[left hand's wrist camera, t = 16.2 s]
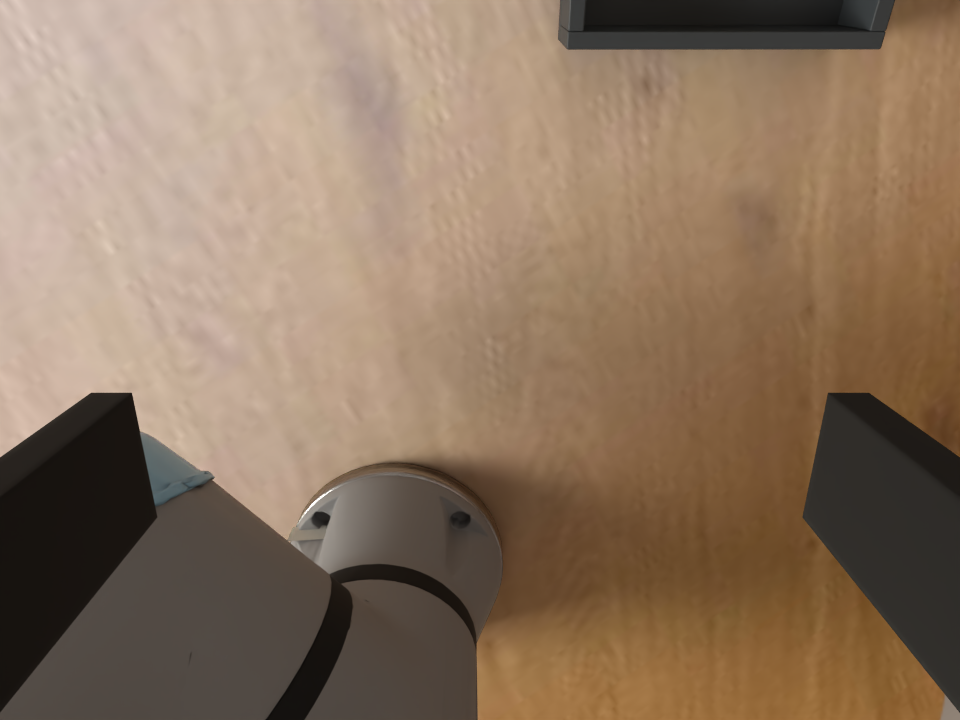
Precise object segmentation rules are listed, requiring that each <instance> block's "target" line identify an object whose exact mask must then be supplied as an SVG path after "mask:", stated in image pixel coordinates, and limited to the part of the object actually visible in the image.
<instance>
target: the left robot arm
mask: <svg viewBox="0 0 960 720" xmlns="http://www.w3.org/2000/svg"><path fill="white" fill-rule="evenodd" d="M214 478H215V477H214V476H213V475H212V474H211V473H210V472H209V471H200V470H199V469H197V468H196V467H194V466H193V465H192V464H190V463H189V462H187V461H186V460H184V459H183V458H182V457H180V456H179V455H177V454H176V453H175V452H173V451H172V450H170V449H169V448H168V447H166V446H165V445H163V444H162V443H161V442H159V441H158V440H157V439H155V438H154V437H152V436H150V435H148V434H146V433H143V432H140V430H139V425H138V420H137V416H136V411H135V406H134V401H133V396H132V393H90V394H89V395H88V396H86V397H85V398H83V399H82V400H80V401H79V402H78V403H76V404H75V405H73V406H72V407H71V408H69V409H68V410H66V411H65V412H64V413H62V414H61V415H59V416H58V417H57V418H55V419H54V420H52V421H51V422H50V423H48V424H47V425H45V426H44V427H42V428H41V429H40V430H38V431H37V432H35V433H34V434H33V435H31V436H30V437H28V438H27V439H26V440H24V441H23V442H21V443H20V444H19V445H17V446H16V447H14V448H13V449H11V450H10V451H9V452H7V453H6V454H4V455H3V456H2V457H0V720H477V656H476V643H477V641H478V639H479V636H480V634H481V632H482V630H483V627H484V625H485V623H486V621H487V618H488V616H489V614H490V612H491V609H492V607H493V605H494V603H495V600H496V598H497V595H498V592H499V588H500V585H501V580H502V571H503V563H502V545H501V539H500V535H499V531H498V528H497V526H496V523H495V521H494V519H493V517H492V515H491V514H490V512H489V511H488V509H487V508H486V506H485V505H484V504H483V503H482V501H481V500H480V499H479V498H478V497H477V496H476V495H475V494H474V493H473V492H472V491H471V490H469V489H468V488H467V487H465V486H464V485H463V484H461V483H460V482H458V481H456V480H455V479H453V478H451V477H449V476H447V475H445V474H443V473H440V472H438V471H435V470H432V469H429V468H426V467H421V466H417V465H410V464H398V463H389V464H377V465H371V466H366V467H362V468H359V469H356V470H352V471H350V472H348V473H345V474H343V475H341V476H339V477H337V478H336V479H334V480H332V481H331V482H329V483H328V484H327V485H325V486H324V487H323V488H322V489H321V490H319V491H318V492H317V493H316V494H315V496H314V497H313V498H312V499H311V500H310V502H309V503H308V504H307V506H306V507H305V509H304V511H303V512H302V514H301V517H300V519H299V521H298V523H297V526H296V527H293V529H292V531H291V533H290V536H289V538H288V540H286V539H284V538H283V537H282V536H281V535H279V534H278V533H277V532H276V531H275V530H273V529H272V528H271V527H270V526H268V525H267V524H266V523H265V522H263V521H262V520H261V519H260V518H258V517H257V516H256V515H255V514H253V513H252V512H251V511H250V510H248V509H247V508H246V507H245V506H244V505H242V504H241V503H240V502H239V501H237V500H236V499H235V498H234V497H232V496H231V495H230V494H229V493H227V492H226V491H225V490H224V489H222V488H221V487H220V486H219V485H218V484H216V483H215V482H214V481H213V480H212V479H214ZM803 519H804V520H805V521H806V522H807V524H808V525H809V526H810V527H811V528H812V530H813V531H814V532H815V533H816V535H817V536H818V537H819V538H820V540H821V541H822V542H823V543H824V545H825V546H826V547H827V548H828V550H829V551H830V552H831V553H832V555H833V556H834V557H835V558H836V560H837V561H838V562H839V563H840V564H841V566H842V567H843V568H844V569H845V571H846V572H847V573H848V574H849V576H850V577H851V578H852V579H853V581H854V582H855V583H856V584H857V586H858V587H859V588H860V589H861V591H862V592H863V593H864V594H865V596H866V597H867V598H868V599H869V600H870V602H871V603H872V604H873V605H874V607H875V608H876V609H877V610H878V612H879V613H880V614H881V615H882V617H883V618H884V619H885V620H886V622H887V623H888V624H889V625H890V627H891V628H892V629H893V630H894V632H895V633H896V634H897V635H898V637H899V638H900V639H901V640H902V641H903V643H904V644H905V645H906V646H907V648H908V649H909V650H910V651H911V653H912V654H913V655H914V656H915V658H916V659H917V660H918V661H919V663H920V664H921V665H922V666H923V668H924V669H925V670H926V671H927V673H928V674H929V675H930V676H931V677H932V679H933V680H934V681H935V682H936V684H937V685H938V686H939V687H940V689H941V690H942V691H943V692H944V694H945V695H946V696H947V697H948V699H949V700H950V701H951V702H952V704H953V705H954V706H955V707H956V709H957V710H958V711H959V712H960V457H958V456H957V455H956V454H954V453H953V452H951V451H950V450H949V449H947V448H946V447H944V446H943V445H941V444H940V443H939V442H937V441H936V440H934V439H933V438H932V437H930V436H929V435H927V434H926V433H925V432H923V431H922V430H920V429H919V428H918V427H916V426H915V425H913V424H912V423H910V422H909V421H908V420H906V419H905V418H903V417H902V416H901V415H899V414H898V413H896V412H895V411H894V410H892V409H891V408H889V407H888V406H887V405H885V404H884V403H882V402H881V401H880V400H878V399H877V398H875V397H874V396H872V395H871V394H870V393H828V396H827V401H826V406H825V411H824V416H823V420H822V425H821V430H820V435H819V440H818V445H817V449H816V454H815V459H814V464H813V469H812V474H811V479H810V483H809V488H808V493H807V498H806V503H805V508H804V512H803ZM288 541H291V542H290V543H289V542H288Z"/></svg>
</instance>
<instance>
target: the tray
mask: <svg viewBox="0 0 960 720" xmlns="http://www.w3.org/2000/svg"><path fill="white" fill-rule="evenodd" d="M894 2H895V0H560V16H559V33H558V40H559V41H560V42H561V43H562V44H563V45H564V46H565V47H566V48H567V49H880V48H881V46H882V42H883V39H884V35H885V31H886V29H887V25H888V22H889V19H890V15H891V12H892V8H893V5H894Z"/></svg>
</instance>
